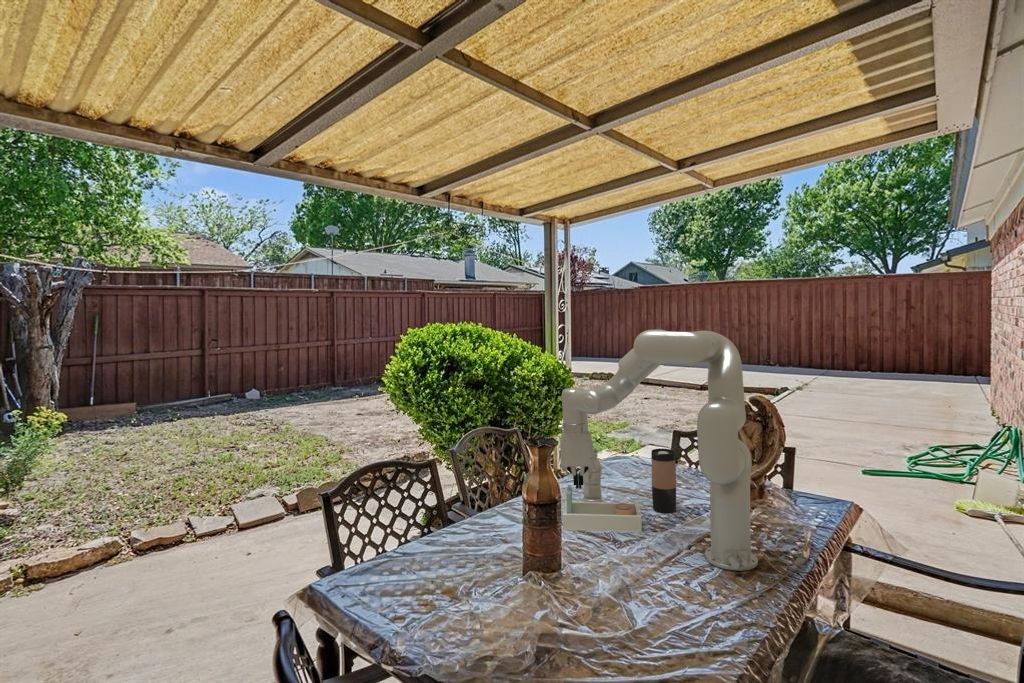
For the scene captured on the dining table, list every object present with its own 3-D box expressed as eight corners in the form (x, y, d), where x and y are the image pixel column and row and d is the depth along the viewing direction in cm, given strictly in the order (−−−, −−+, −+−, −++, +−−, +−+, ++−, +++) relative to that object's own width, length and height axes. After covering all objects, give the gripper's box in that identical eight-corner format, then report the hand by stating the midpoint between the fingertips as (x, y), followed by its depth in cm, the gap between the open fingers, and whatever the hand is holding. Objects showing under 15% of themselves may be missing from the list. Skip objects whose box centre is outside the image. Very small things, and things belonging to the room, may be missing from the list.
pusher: (571, 526, 158) (570, 493, 157) (567, 526, 158) (566, 493, 158) (572, 516, 166) (571, 484, 166) (568, 516, 166) (567, 484, 166)
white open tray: (641, 534, 153) (641, 513, 153) (563, 532, 156) (562, 511, 156) (638, 519, 165) (637, 499, 165) (565, 517, 168) (564, 498, 168)
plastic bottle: (603, 515, 169) (601, 454, 168) (582, 514, 170) (580, 453, 170) (603, 508, 175) (602, 449, 175) (583, 507, 177) (582, 448, 176)
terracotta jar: (634, 527, 156) (634, 509, 156) (614, 527, 157) (614, 508, 157) (633, 520, 162) (632, 502, 162) (613, 519, 163) (613, 502, 163)
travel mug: (674, 508, 174) (672, 448, 173) (679, 516, 166) (677, 454, 166) (650, 507, 175) (649, 448, 174) (654, 516, 167) (653, 454, 166)
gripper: (550, 431, 158) (553, 491, 158) (600, 429, 156) (603, 491, 156) (552, 426, 166) (555, 484, 166) (600, 425, 163) (603, 483, 164)
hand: (578, 487), depth 161 cm, fingers closed
